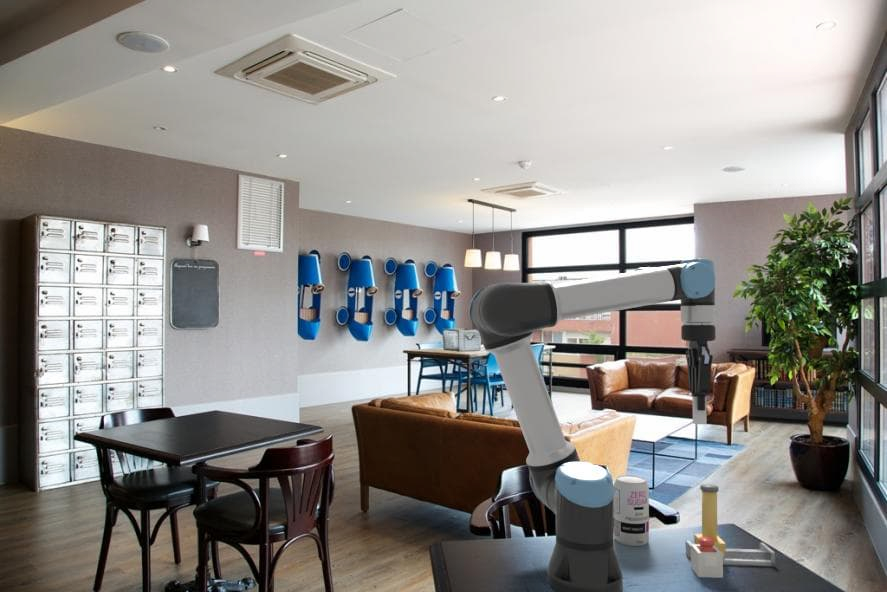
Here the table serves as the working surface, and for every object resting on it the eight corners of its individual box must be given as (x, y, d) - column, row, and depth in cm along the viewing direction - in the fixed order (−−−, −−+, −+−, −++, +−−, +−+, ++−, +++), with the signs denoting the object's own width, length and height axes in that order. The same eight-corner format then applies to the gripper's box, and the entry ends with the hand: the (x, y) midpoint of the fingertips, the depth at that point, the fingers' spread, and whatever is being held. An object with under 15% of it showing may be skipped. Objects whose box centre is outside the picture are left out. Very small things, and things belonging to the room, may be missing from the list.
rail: (694, 563, 139) (693, 550, 139) (685, 553, 145) (685, 540, 145) (775, 566, 137) (775, 552, 137) (763, 555, 143) (763, 542, 143)
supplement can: (626, 532, 158) (626, 473, 158) (655, 542, 152) (655, 479, 152) (606, 539, 153) (606, 478, 153) (635, 549, 147) (635, 485, 147)
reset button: (701, 564, 133) (701, 542, 133) (696, 558, 136) (696, 536, 136) (716, 565, 132) (716, 542, 132) (711, 559, 136) (711, 537, 136)
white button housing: (698, 577, 131) (698, 553, 132) (690, 567, 137) (690, 544, 137) (723, 578, 131) (723, 554, 131) (714, 568, 136) (714, 544, 136)
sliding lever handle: (702, 557, 139) (702, 489, 139) (694, 547, 144) (694, 482, 145) (725, 558, 138) (725, 489, 139) (716, 548, 144) (716, 483, 144)
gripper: (724, 324, 141) (725, 429, 141) (705, 323, 154) (707, 419, 154) (689, 324, 142) (691, 428, 142) (674, 323, 155) (675, 418, 155)
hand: (699, 423), depth 148 cm, fingers closed
